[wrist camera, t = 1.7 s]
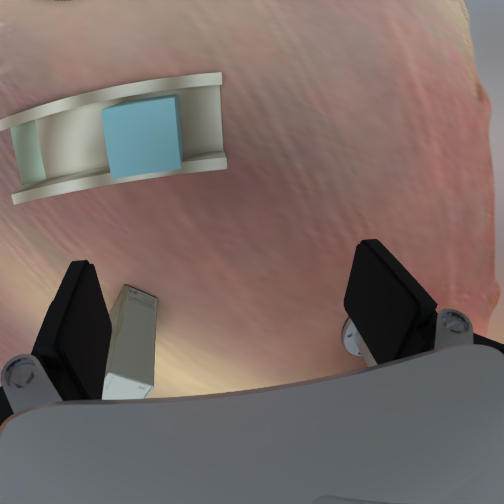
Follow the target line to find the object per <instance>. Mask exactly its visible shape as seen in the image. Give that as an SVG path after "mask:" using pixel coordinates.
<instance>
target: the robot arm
mask: <svg viewBox="0 0 504 504" xmlns="http://www.w3.org/2000/svg"><path fill="white" fill-rule="evenodd" d="M437 305H438V304H437V303H436V302H435V301H434V300H433V299H432V297H431V296H430V295H429V294H428V293H427V292H426V291H425V290H424V288H423V287H422V286H421V285H420V284H419V283H418V282H417V281H416V280H415V278H414V277H413V276H412V275H411V274H410V273H409V272H408V271H407V270H406V269H405V268H404V267H403V265H402V264H401V263H400V262H399V261H398V260H397V259H396V258H395V257H394V256H393V255H392V254H391V253H390V252H389V251H388V250H387V249H386V248H385V247H384V246H383V244H382V243H381V242H380V241H379V240H377V239H368V240H362V241H361V242H360V244H358V245H357V247H356V251H355V255H354V260H353V264H352V269H351V273H350V277H349V282H348V286H347V290H346V294H345V298H344V308H345V310H346V312H347V314H348V315H349V317H350V318H349V319H348V321H347V322H346V324H345V326H344V329H343V333H342V341H343V344H344V346H345V348H346V350H347V351H348V352H349V353H351V354H353V355H356V356H362V357H363V359H364V361H365V362H366V364H367V366H368V367H367V368H363V369H359V370H354V371H350V372H346V373H341V374H336V375H332V376H327V377H322V378H317V379H312V380H307V381H301V382H296V383H290V384H284V385H278V386H271V387H265V388H258V389H250V390H243V391H235V392H226V393H217V394H207V395H196V396H183V397H168V398H146V399H118V400H102V394H103V386H104V379H105V372H106V365H107V359H108V353H109V347H110V341H111V335H112V323H111V320H110V317H109V314H108V311H107V308H106V304H105V301H104V298H103V294H102V291H101V288H100V284H99V281H98V277H97V273H96V270H95V266H94V265H93V264H89V262H88V260H80V261H72V262H71V263H70V265H69V268H68V270H67V272H66V274H65V276H64V278H63V280H62V283H61V285H60V287H59V289H58V291H57V294H56V296H55V298H54V300H53V301H52V302H51V304H50V306H49V309H48V311H47V314H46V316H45V318H44V321H43V323H42V326H41V328H40V331H39V334H38V336H37V339H36V342H35V344H34V347H33V350H32V353H31V355H30V354H21V355H18V356H15V357H13V358H12V359H10V360H9V361H8V362H7V363H6V364H5V366H4V367H3V369H2V372H1V377H0V379H1V384H2V386H1V387H0V504H504V344H501V343H498V342H496V341H493V340H490V339H488V338H485V337H483V336H480V335H477V334H475V333H473V326H472V323H471V321H470V320H469V318H468V317H467V316H466V315H464V314H463V313H461V312H459V311H457V310H454V309H443V310H441V311H440V312H439V313H437V312H436V311H435V309H436V307H437Z"/></svg>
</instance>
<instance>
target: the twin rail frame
mask: <svg viewBox="0 0 504 504" xmlns="http://www.w3.org/2000/svg"><path fill="white" fill-rule="evenodd" d="M220 85H222V72H218V73H205V74H194V75H185V76H176V77H168V78H161V79H154V80H148V81H141V82H136V83H130V84H125V85H119V86H114V87H110V88H105V89H100V90H96V91H92V92H88V93H84V94H80V95H76V96H72V97H68V98H65V99H61V100H58V101H54V102H51V103H47V104H44V105H41V106H38V107H35V108H32V109H29V110H26V111H23V112H20V113H17V114H14V115H12V116H9V117H6V118H4V119H1V120H0V131H2V130H5V129H8V128H10V129H11V135H12V140H13V146H14V151H15V156H16V160H17V165H18V169H19V174H20V178H21V182H22V186H21V187H20V188H18V189H17V190H16V191H15V192H14V193H12V194H11V196H12V200H13V203H14V204H18V203H23V202H27V201H31V200H35V199H40V198H44V197H49V196H54V195H58V194H63V193H68V192H73V191H78V190H83V189H89V188H94V187H100V186H105V185H111V184H117V183H123V182H129V181H136V180H142V179H149V178H156V177H163V176H171V175H178V174H186V173H195V172H204V171H213V170H223V169H227V159H226V155H225V153H224V151H223V135H222V119H221V101H220ZM173 94H178V100H179V112H180V124H181V135H182V145H183V155H182V165H181V169H177V170H169V171H162V172H155V173H148V174H141V175H135V176H128V177H122V178H116V179H112V178H111V172H110V167H109V161H108V155H107V149H106V143H105V136H104V129H103V122H102V114H101V110H102V109H105V108H108V107H110V106H113V105H116V104H118V103H122V102H128V101H133V100H139V99H145V98H152V97H158V96H165V95H173Z"/></svg>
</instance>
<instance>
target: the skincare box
mask: <svg viewBox="0 0 504 504" xmlns="http://www.w3.org/2000/svg"><path fill="white" fill-rule="evenodd" d="M157 304H158V299H157V298H155V297H152V296H150V295H148V294H146V293H143V292H141V291H139V290H136V289H134V288H131V287H129V286H127V285H124V287H123V289H122V291H121V293H120V294H119V296H118V298H117V300H116V302H115V304H114V306H113V308H112V310H111V312H110V314H109V317H110V320H111V323H112V335H111V341H110V347H109V353H108V359H107V365H106V372H105V379H104V386H103V394H102V400H118V399H145V398H146V397H147V396H148V394H149V393H150V392H151V390H152V389H153V388H154V363H155V338H156V320H157Z"/></svg>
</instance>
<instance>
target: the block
mask: <svg viewBox="0 0 504 504" xmlns="http://www.w3.org/2000/svg"><path fill="white" fill-rule="evenodd" d="M101 114H102V122H103V129H104V136H105V143H106V149H107V155H108V161H109V167H110V172H111V178H112V179H116V178H122V177H128V176H135V175H141V174H148V173H155V172H162V171H169V170H177V169H181V165H182V155H183V145H182V135H181V124H180V112H179V100H178V94H173V95H165V96H158V97H152V98H145V99H139V100H133V101H128V102H122V103H118V104H116V105H113V106H110V107H108V108H105V109H102V110H101Z"/></svg>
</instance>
